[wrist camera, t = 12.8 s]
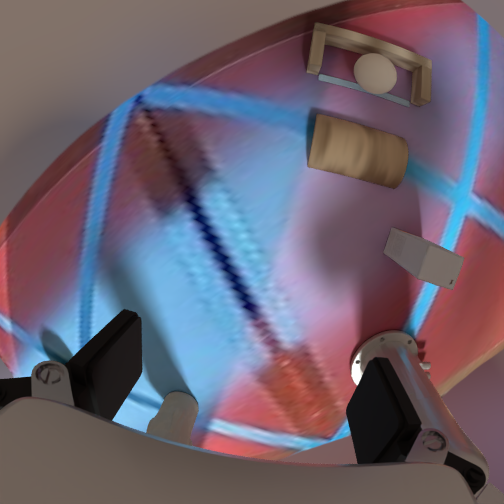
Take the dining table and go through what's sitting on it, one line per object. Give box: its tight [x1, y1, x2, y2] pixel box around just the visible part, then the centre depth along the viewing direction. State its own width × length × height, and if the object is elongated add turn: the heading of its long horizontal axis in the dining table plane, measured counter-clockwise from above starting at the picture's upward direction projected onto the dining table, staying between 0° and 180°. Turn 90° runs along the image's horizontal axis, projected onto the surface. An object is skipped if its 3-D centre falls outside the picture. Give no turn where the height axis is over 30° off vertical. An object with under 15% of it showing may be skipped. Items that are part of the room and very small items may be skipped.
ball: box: [354, 53, 397, 94], centre depth 30 cm, size 6×6×6 cm
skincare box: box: [383, 227, 464, 290], centre depth 33 cm, size 6×4×12 cm
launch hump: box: [308, 114, 408, 189], centre depth 37 cm, size 13×8×8 cm, turn 80°
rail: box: [306, 22, 432, 107], centre depth 31 cm, size 18×7×4 cm, turn 80°
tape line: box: [318, 74, 410, 107], centre depth 34 cm, size 14×1×1 cm, turn 80°
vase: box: [146, 391, 199, 446], centre depth 35 cm, size 9×8×30 cm
